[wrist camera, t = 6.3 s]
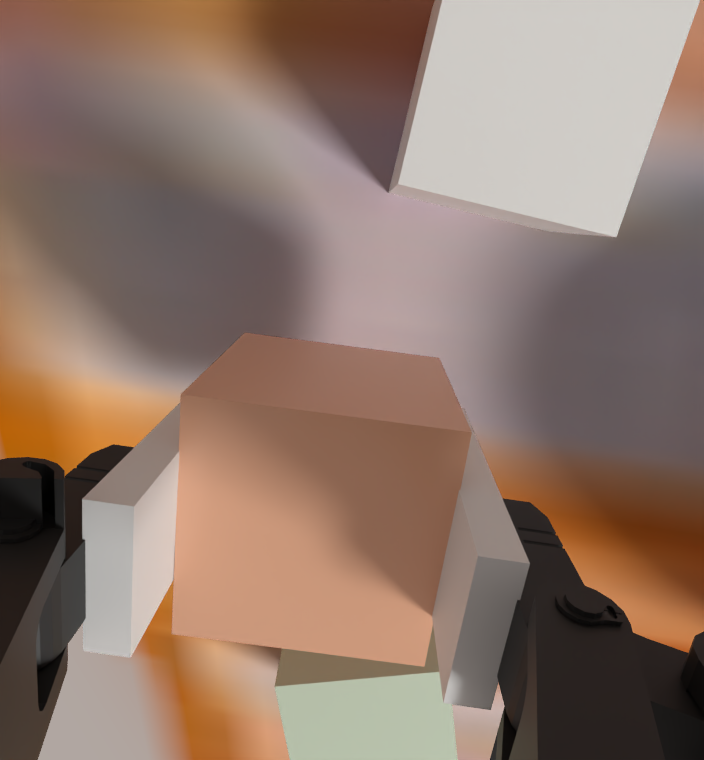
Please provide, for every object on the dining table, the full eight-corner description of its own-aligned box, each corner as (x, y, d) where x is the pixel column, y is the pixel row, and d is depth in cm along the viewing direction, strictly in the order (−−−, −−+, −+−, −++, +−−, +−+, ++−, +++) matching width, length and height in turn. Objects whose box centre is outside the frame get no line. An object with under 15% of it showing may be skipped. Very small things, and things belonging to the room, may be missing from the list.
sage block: (295, 579, 21) (274, 686, 16) (428, 565, 21) (448, 671, 16) (315, 686, 22) (301, 815, 18) (440, 675, 22) (461, 802, 17)
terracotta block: (244, 332, 14) (181, 394, 10) (439, 358, 14) (471, 432, 10) (232, 505, 16) (171, 634, 11) (409, 528, 16) (424, 666, 11)
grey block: (431, 8, 16) (461, -82, 11) (602, 53, 16) (705, -17, 11) (388, 193, 17) (398, 184, 12) (546, 231, 17) (616, 237, 13)
